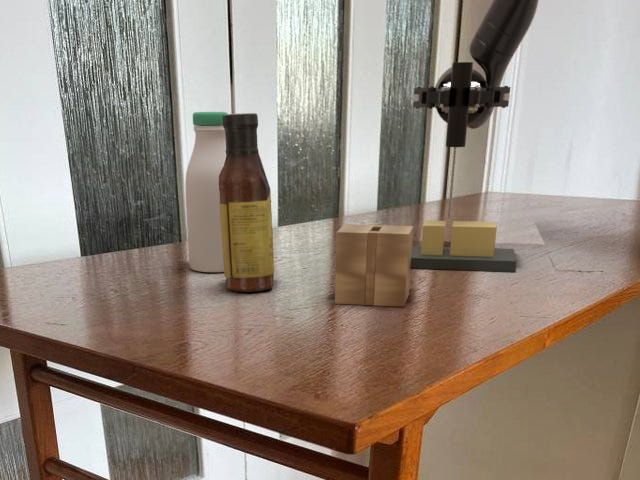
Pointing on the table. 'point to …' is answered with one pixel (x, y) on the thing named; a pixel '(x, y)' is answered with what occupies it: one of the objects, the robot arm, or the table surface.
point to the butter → (462, 248)
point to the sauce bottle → (245, 209)
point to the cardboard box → (373, 265)
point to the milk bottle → (205, 193)
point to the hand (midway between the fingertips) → (459, 97)
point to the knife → (458, 111)
